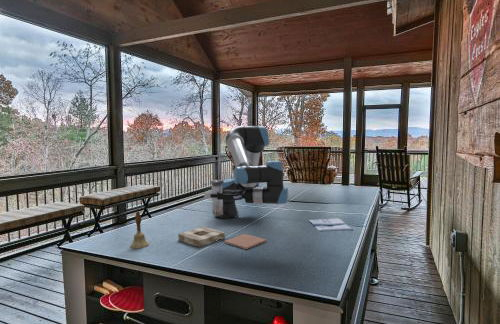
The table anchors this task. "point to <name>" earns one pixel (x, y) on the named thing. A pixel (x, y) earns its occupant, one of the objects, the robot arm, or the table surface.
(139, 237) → the hand bell
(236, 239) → the terracotta mat
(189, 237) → the frame
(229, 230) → the table surface
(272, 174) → the robot arm
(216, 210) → the aluminium plug
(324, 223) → the white folded cloth
